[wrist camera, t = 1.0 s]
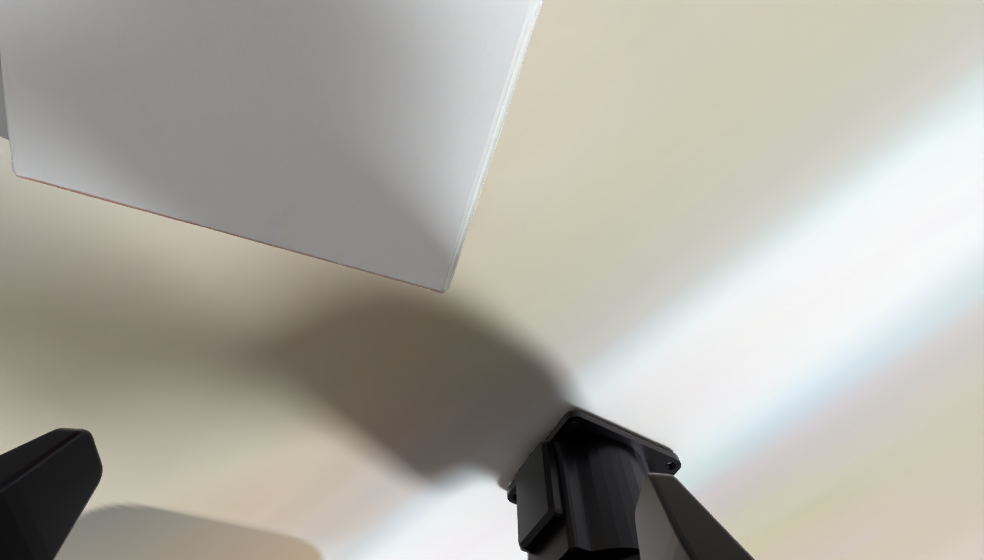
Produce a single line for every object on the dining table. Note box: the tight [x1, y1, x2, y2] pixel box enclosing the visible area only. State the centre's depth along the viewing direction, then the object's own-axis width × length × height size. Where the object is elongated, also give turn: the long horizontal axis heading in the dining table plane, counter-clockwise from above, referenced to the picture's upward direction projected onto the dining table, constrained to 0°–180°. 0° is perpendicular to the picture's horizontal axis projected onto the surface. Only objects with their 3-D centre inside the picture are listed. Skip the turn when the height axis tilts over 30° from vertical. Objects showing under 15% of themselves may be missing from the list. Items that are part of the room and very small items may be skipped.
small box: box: [0, 0, 543, 293], centre depth 13 cm, size 8×6×10 cm
